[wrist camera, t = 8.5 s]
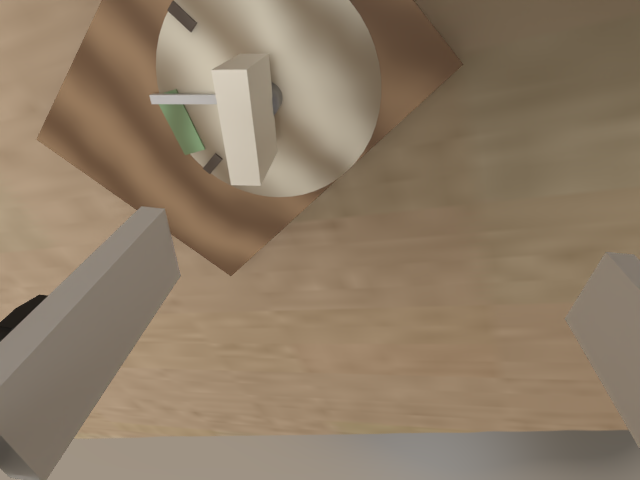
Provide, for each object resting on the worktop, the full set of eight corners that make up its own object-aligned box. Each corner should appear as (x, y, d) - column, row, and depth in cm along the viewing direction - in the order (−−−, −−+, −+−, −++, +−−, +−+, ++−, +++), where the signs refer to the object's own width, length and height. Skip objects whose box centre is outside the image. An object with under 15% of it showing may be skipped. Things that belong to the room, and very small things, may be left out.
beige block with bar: (142, 49, 28) (68, 70, 21) (279, 47, 27) (250, 69, 20) (166, 138, 32) (110, 182, 25) (285, 140, 31) (263, 185, 24)
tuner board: (229, -232, 21) (216, -254, 19) (457, 60, 29) (464, 65, 27) (51, 132, 35) (33, 140, 33) (235, 264, 42) (229, 278, 40)
